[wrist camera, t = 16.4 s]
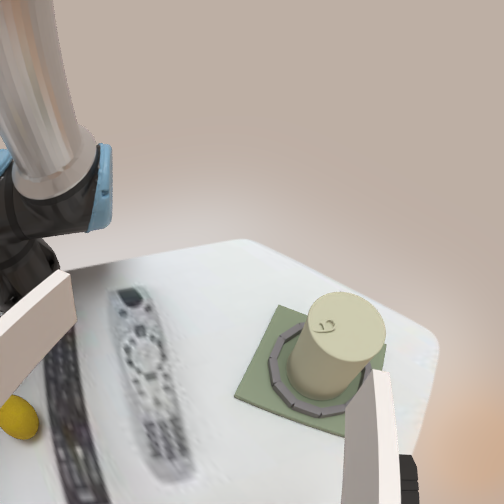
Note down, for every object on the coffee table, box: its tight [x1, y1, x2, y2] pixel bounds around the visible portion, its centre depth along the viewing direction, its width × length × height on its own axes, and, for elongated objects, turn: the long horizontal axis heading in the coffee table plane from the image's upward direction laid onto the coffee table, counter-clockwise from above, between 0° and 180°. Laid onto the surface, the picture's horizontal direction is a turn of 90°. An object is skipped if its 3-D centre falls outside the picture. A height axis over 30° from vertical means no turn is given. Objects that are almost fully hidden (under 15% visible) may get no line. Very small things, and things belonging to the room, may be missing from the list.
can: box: [286, 292, 386, 401], centre depth 36 cm, size 9×9×12 cm
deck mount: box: [234, 305, 387, 438], centre depth 41 cm, size 18×16×2 cm
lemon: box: [0, 395, 39, 440], centre depth 26 cm, size 6×6×8 cm
